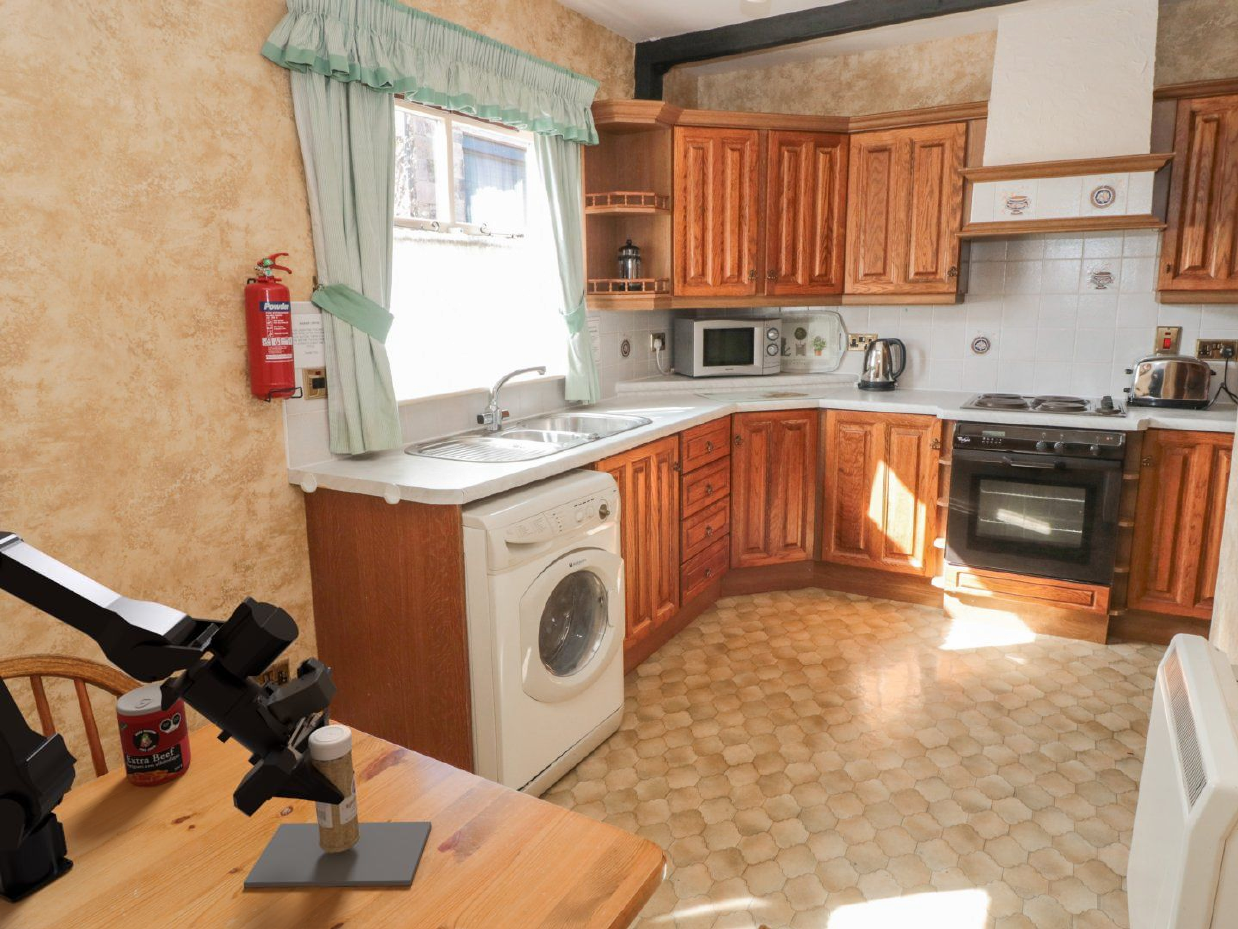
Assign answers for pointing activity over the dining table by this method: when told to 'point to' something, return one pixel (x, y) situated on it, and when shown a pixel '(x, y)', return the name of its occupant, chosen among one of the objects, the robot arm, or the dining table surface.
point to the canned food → (152, 737)
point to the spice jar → (336, 766)
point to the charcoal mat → (341, 857)
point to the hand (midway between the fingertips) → (347, 788)
